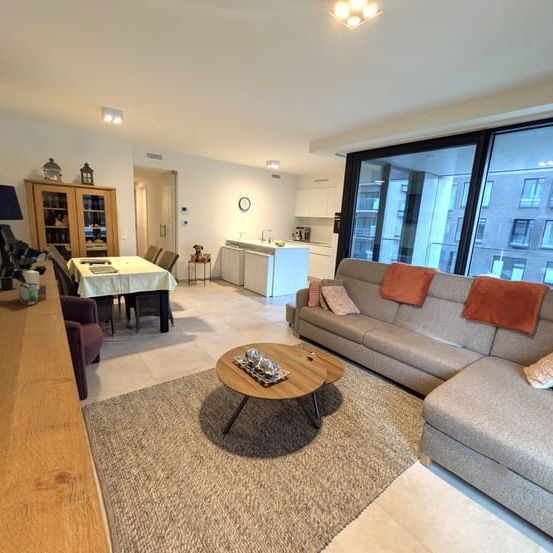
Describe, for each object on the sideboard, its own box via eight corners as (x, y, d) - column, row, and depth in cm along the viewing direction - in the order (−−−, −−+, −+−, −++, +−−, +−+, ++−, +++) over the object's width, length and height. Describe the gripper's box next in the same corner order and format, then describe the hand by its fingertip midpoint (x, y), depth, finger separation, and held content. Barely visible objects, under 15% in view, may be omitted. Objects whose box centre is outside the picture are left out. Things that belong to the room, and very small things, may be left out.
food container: (44, 304, 154) (43, 285, 152) (29, 306, 148) (29, 286, 147) (34, 300, 160) (33, 281, 159) (19, 301, 155) (19, 282, 153)
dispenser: (19, 301, 157) (18, 286, 156) (41, 298, 165) (41, 284, 164) (23, 302, 154) (23, 287, 153) (46, 299, 163) (45, 285, 162)
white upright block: (23, 296, 162) (22, 270, 160) (32, 295, 166) (31, 270, 164) (31, 298, 159) (30, 272, 157) (39, 297, 162) (39, 272, 160)
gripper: (2, 252, 153) (13, 276, 150) (44, 251, 170) (55, 273, 166) (-4, 265, 158) (7, 289, 155) (37, 263, 175) (48, 285, 171)
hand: (30, 283), depth 162 cm, fingers closed on white upright block, 4 cm apart
